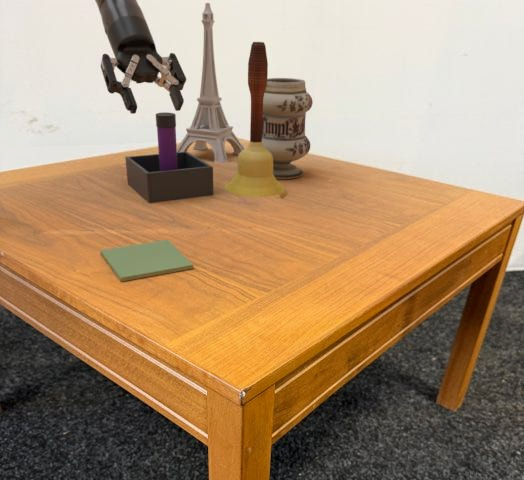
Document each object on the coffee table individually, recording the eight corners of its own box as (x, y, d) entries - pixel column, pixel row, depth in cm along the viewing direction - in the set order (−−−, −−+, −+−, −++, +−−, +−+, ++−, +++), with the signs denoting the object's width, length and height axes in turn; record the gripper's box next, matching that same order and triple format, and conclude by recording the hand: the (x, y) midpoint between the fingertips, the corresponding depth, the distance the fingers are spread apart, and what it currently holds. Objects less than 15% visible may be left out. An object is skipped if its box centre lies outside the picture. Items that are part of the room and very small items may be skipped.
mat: (121, 282, 70) (120, 277, 70) (100, 253, 78) (100, 249, 77) (193, 268, 74) (193, 264, 74) (167, 243, 82) (167, 239, 81)
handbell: (239, 179, 112) (240, 38, 98) (295, 187, 108) (305, 42, 94) (211, 195, 102) (208, 41, 89) (272, 205, 98) (279, 46, 85)
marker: (160, 192, 100) (155, 115, 93) (160, 186, 103) (155, 112, 96) (179, 192, 100) (175, 116, 93) (179, 186, 103) (175, 112, 96)
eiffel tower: (197, 146, 135) (193, 2, 118) (247, 153, 131) (250, 4, 114) (170, 158, 124) (162, 1, 108) (224, 165, 120) (223, 4, 104)
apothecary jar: (265, 163, 123) (268, 74, 114) (315, 170, 119) (323, 79, 110) (242, 175, 114) (243, 79, 104) (296, 184, 110) (302, 85, 100)
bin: (149, 207, 95) (146, 173, 92) (128, 188, 104) (125, 156, 101) (213, 199, 100) (213, 166, 97) (188, 181, 109) (187, 151, 106)
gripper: (90, 12, 92) (122, 97, 90) (169, 14, 99) (200, 93, 97) (85, 46, 99) (115, 125, 97) (159, 45, 105) (187, 119, 104)
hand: (157, 109), depth 97 cm, fingers open, 8 cm apart
